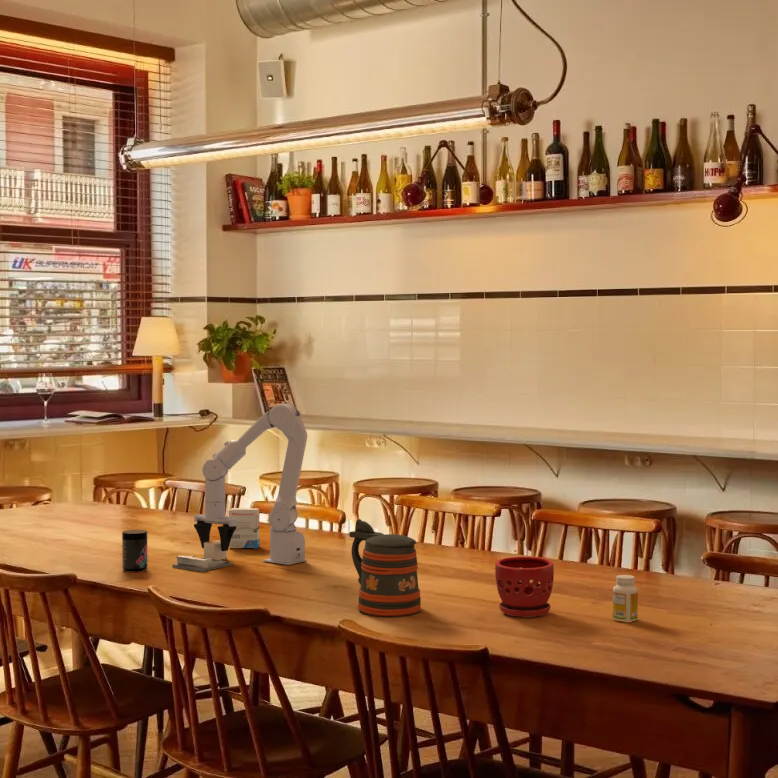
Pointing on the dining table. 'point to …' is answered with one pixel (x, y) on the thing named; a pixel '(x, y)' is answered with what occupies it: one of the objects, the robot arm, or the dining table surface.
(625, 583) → the supplement bottle
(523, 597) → the plant pot
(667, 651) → the dining table surface
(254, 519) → the ink box
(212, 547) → the block
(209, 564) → the rail plate
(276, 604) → the dining table surface
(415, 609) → the beer stein
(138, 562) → the supplement container
